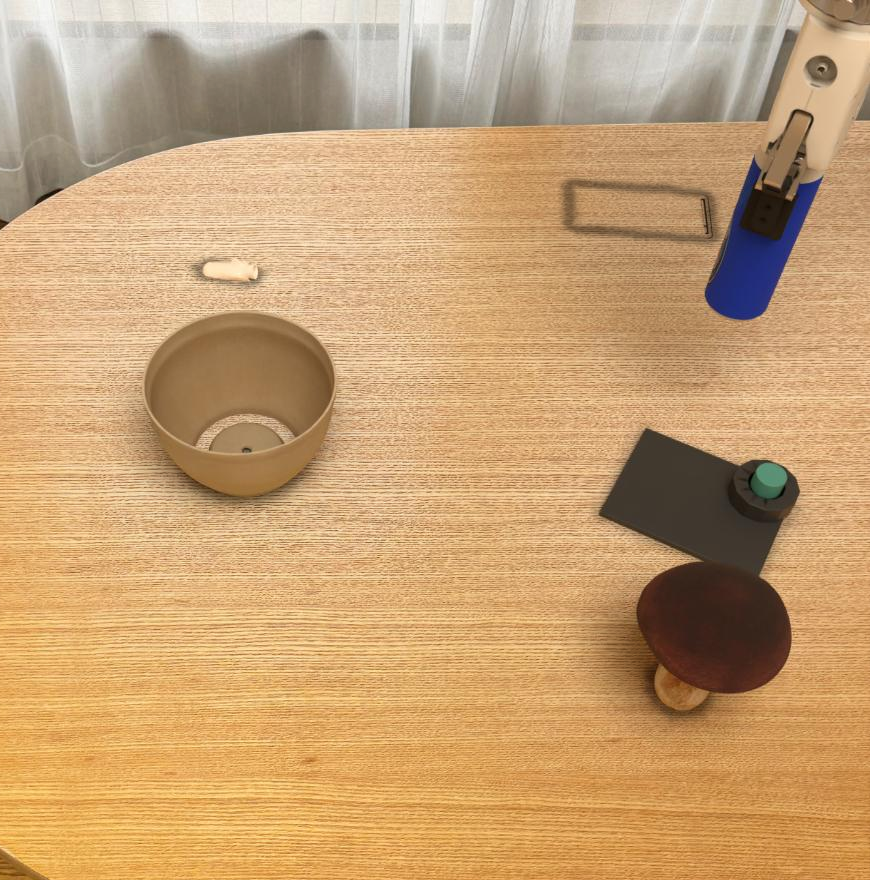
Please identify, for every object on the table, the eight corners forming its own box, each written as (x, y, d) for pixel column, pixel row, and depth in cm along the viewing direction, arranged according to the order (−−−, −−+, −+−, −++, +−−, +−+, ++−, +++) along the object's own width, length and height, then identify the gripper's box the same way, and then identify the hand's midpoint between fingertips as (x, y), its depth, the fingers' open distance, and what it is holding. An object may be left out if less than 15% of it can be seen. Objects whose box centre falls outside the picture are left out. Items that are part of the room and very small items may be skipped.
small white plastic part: (217, 258, 121) (215, 234, 118) (263, 283, 119) (261, 259, 116) (194, 277, 119) (192, 254, 116) (240, 302, 117) (239, 279, 115)
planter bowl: (231, 369, 112) (223, 283, 103) (370, 445, 107) (375, 362, 98) (118, 476, 104) (100, 393, 95) (262, 564, 99) (257, 486, 90)
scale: (793, 499, 104) (807, 475, 101) (754, 592, 98) (767, 569, 95) (642, 437, 108) (651, 412, 105) (596, 523, 102) (604, 498, 99)
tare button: (784, 482, 101) (791, 470, 100) (775, 503, 100) (782, 491, 98) (755, 470, 102) (761, 458, 100) (745, 491, 100) (752, 478, 99)
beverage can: (726, 273, 99) (785, 118, 87) (777, 304, 97) (845, 151, 85) (689, 302, 97) (744, 148, 85) (741, 335, 95) (805, 182, 82)
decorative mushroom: (594, 639, 95) (635, 532, 83) (726, 632, 96) (786, 525, 84) (623, 764, 89) (672, 668, 77) (764, 755, 90) (835, 659, 77)
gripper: (887, 64, 69) (785, 295, 84) (956, -64, 77) (853, 165, 92) (763, 26, 71) (685, 257, 86) (844, -95, 79) (761, 134, 94)
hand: (773, 208), depth 89 cm, fingers closed on beverage can, 5 cm apart
